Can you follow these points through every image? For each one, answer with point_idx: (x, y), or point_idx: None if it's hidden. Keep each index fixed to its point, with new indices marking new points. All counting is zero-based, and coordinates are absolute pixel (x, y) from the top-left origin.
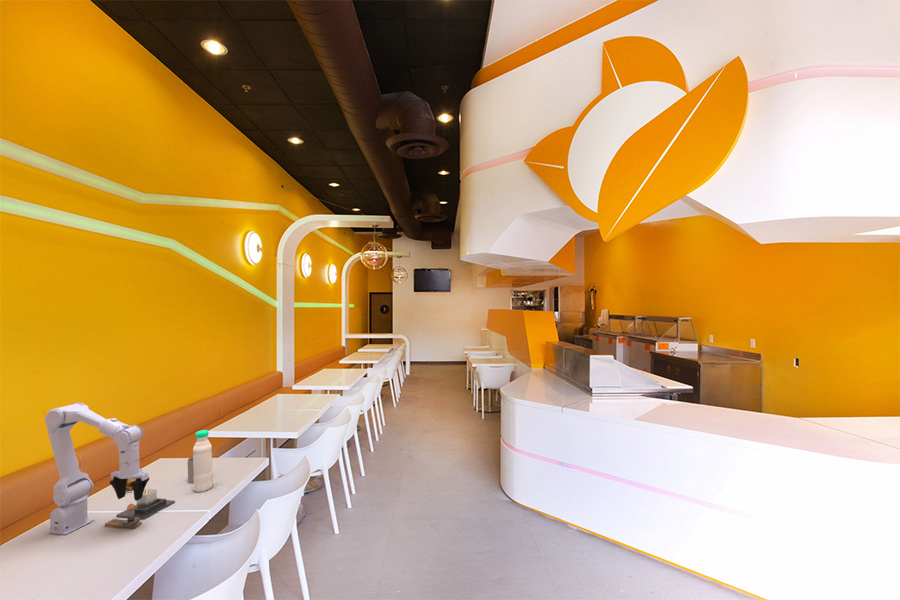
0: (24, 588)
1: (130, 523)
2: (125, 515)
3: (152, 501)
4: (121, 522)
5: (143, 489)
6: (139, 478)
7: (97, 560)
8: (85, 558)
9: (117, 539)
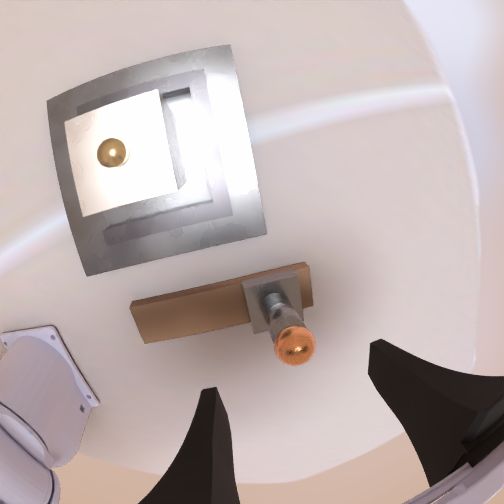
0: (311, 472)
1: (302, 317)
2: (136, 261)
3: (175, 138)
4: (210, 311)
5: (427, 367)
6: (482, 462)
7: (367, 404)
8: (327, 418)
9: (320, 355)
